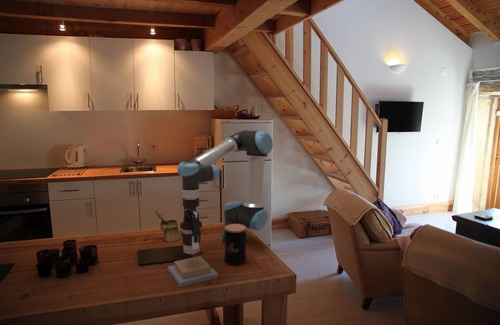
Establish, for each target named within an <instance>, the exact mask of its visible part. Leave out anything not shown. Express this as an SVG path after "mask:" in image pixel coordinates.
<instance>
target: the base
mask: <svg viewBox="0 0 500 325" xmlns="http://www.w3.org/2000/svg"><path fill="white" fill-rule="evenodd" d="M173 264H174V265H169V266H167V271H168V272H169V274H170V276H171V277H172V278H173V280H174V281H175V283H176V284H177V286H178V287H179V288H184V287H186V286H187V287H188V286H191V285H195V284H199V283H202V282H203V283H204V282H207V281H210V280H211V281H213V280H215V279H218V278H219V274H218V272H217V271H216V270H215V269H214V268H213V267H212V266H211V265H210V264H209V262H207V261H206V260H205V259H204V258H203V257H202V256H201V255H198V256H194V257H189V258H184V259H180V260H176V261H174V263H173Z"/></svg>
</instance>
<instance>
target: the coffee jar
mask: <svg viewBox="0 0 500 325" xmlns="http://www.w3.org/2000/svg"><path fill="white" fill-rule="evenodd" d="M224 228H225V230H226V231H225V243H224V261H225V262H226V264H228V265H231V266H239V265H243V264H244V263H245V261H246V258H247V242H246V234H247V232H246V229H247V228H246V226H244V225H242V224H229V225H227V226H225V225H224Z"/></svg>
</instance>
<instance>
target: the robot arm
mask: <svg viewBox="0 0 500 325" xmlns="http://www.w3.org/2000/svg"><path fill="white" fill-rule="evenodd" d="M273 146H274V143H273V138H272V136H271V135H270V133H268V132H266V131H262V130H247V129H246V130H241V131H238V132H235V133H233V134H231V135H229V136H228V137H226V138H225V139H224V141H222V142H221V143H219V144H218V145H216V146H214V147H212V148H210V149H209V150H207V151H205V152H204V153H201V154H200V155H198V156H196V157H195V158H193V159H191V160H189V161H182V162H179V164H178V166H177V171H176V172H177V174H178V175H179V176H180V177H181V194H182V196H181V197H182V207H183V221H184V220H185V219H189V221H191V225H192V233H193V235H191V236H192V249H193V250H194V249H198V235H200V225H199V221H200V213H199V212H198V211H197V208H198V207H199V206H200V198H199V197H200V184H201V183H207V182H213V181H216V180H217V179H218V178H219V177H220V169H219V167H218V166H217V165H216V163H218V162H219V161H221V160H223V159H224V158H226V157H228V156H229V155H231V154H232V155H233V154H235V153H238V152H245V153H246V154H245V155H246V157H247V158H248V165H247V166H248V167H247V181H246V182H247V183H246V197H245V201H243V200H233V201H228V202H226V203H225V204H224V210H223V213H224V215H223V216H224V220H223V221H224V222H223V223H224V228H223V231H222V235H221V242H222V243H223V244H225V231H226V230H225V226H227V225H229V224H242V225H244V226H246V229H250V230H251V231H260V230H262V229H263V228H264V227H265V226H266V224H267V221H268V220H269V219H268V218H269V214H268V212H267V211H266V210H265V204H263V200H262V199H263V187H264V186H263V185H264V171H265V170H264V169H265V160H266V159H267V158H268V156H269V155H268V154H269V153H271V152H272V150H273ZM192 218H193V219H192ZM183 221H182V222H183ZM193 227H194V228H193ZM247 241H248V234H247V233H246V243H247Z"/></svg>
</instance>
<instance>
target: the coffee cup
mask: <svg viewBox="0 0 500 325" xmlns="http://www.w3.org/2000/svg"><path fill="white" fill-rule="evenodd" d="M192 219H193V218H192ZM199 225H200V235H198V249H194V250H193V249H192V236H191V235H193V233H192V225H191V221H189V219H185V220H184V221H181V222H180V223H179V227H180V229H181V241H182V242H181V243H182V248H183V253H184V254H188V255H194V254H197V253H199V252H200V248H201V247H200V246H201V241H202V240H201V238H202V227H203V222H202V221H200V220H199ZM193 228H194V227H193Z"/></svg>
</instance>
